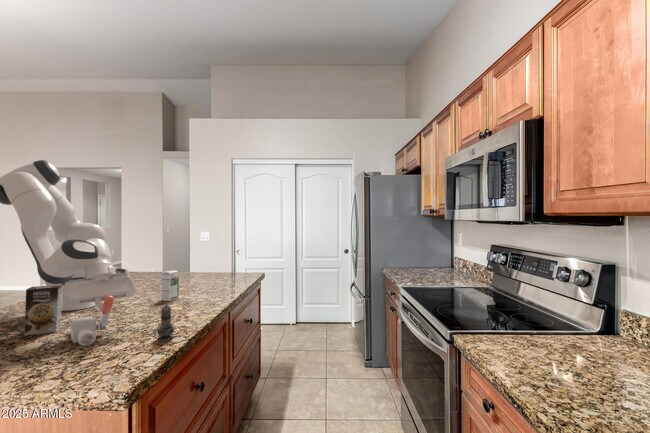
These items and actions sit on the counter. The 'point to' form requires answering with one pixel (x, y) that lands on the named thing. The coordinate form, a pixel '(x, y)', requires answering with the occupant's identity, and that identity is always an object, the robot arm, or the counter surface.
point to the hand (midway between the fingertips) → (105, 309)
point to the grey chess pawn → (165, 325)
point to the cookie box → (43, 309)
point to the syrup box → (170, 285)
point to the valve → (84, 330)
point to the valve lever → (106, 311)
